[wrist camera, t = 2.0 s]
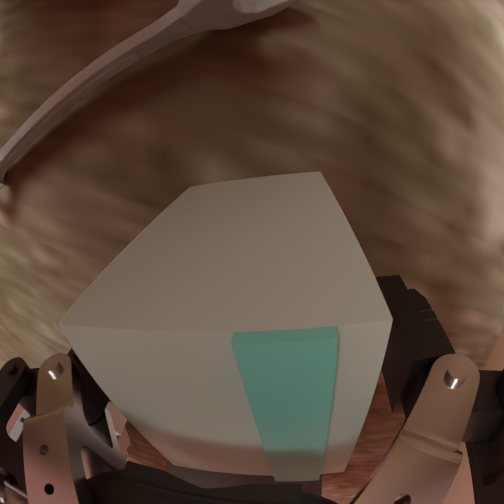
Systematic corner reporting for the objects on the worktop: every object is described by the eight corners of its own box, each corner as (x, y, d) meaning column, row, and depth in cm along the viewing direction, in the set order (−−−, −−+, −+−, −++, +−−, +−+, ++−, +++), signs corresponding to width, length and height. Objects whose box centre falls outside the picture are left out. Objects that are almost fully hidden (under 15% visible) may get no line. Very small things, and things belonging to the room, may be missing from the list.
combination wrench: (-38, 220, 9) (322, -18, 4) (-45, 201, 9) (303, -52, 4) (1, 196, 13) (312, 21, 7) (-5, 179, 12) (300, -5, 7)
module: (190, 186, 11) (50, 330, 4) (320, 171, 10) (397, 330, 3) (220, 308, 14) (172, 470, 6) (325, 302, 13) (344, 477, 6)
